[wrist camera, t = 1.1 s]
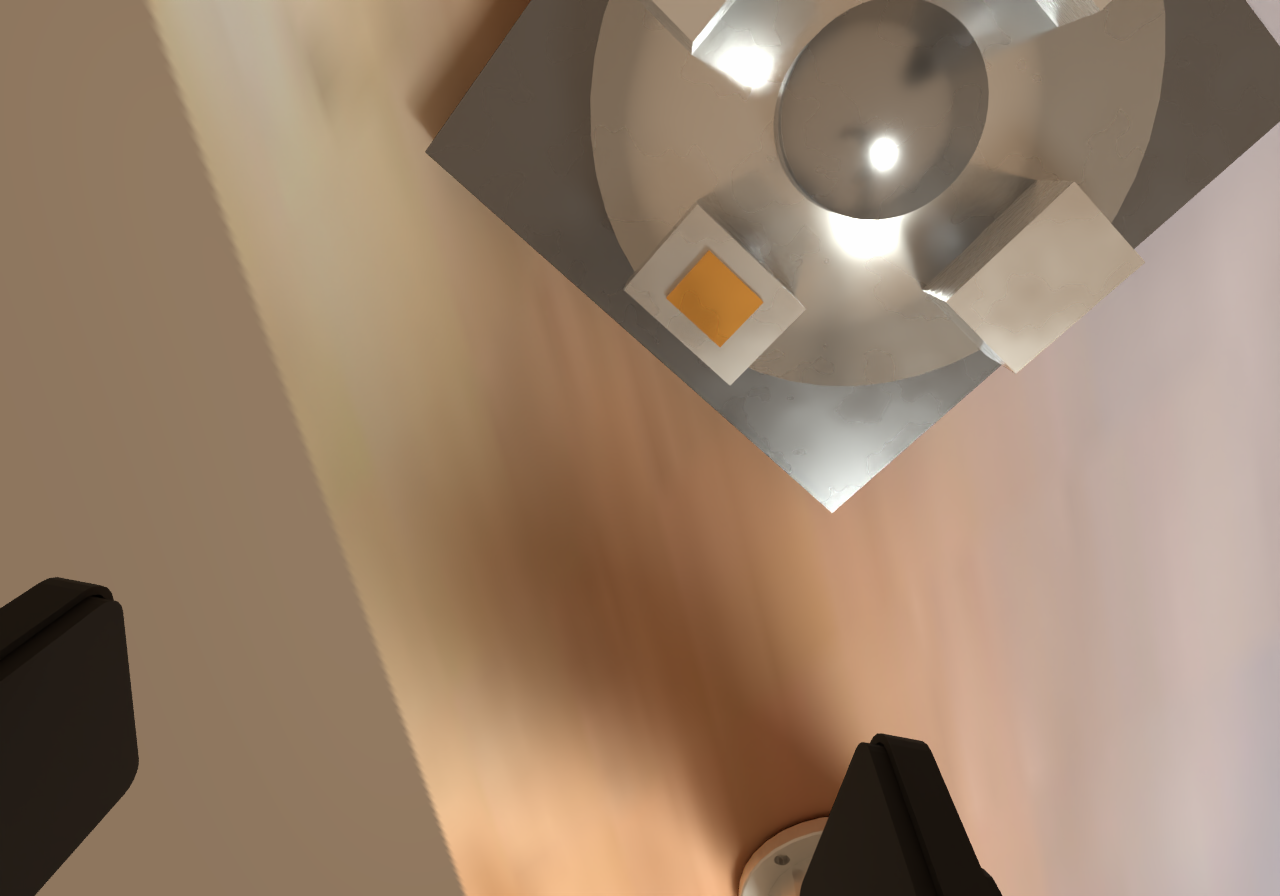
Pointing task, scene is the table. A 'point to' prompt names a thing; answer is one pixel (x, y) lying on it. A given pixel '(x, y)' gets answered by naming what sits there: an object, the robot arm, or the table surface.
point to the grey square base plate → (755, 402)
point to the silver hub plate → (872, 174)
